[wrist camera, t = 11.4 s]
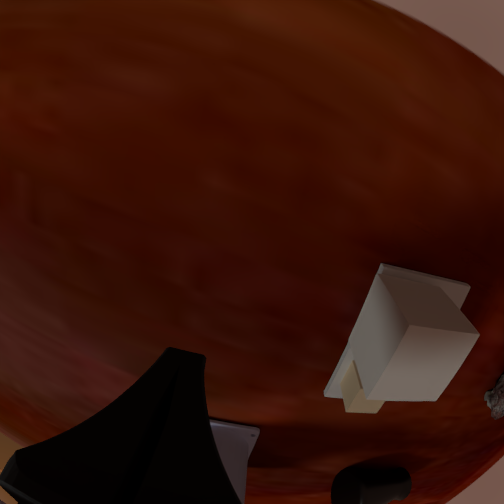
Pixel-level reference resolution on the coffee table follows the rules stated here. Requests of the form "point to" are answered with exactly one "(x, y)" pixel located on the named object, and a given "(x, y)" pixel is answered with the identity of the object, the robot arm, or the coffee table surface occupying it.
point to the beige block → (409, 340)
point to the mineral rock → (496, 399)
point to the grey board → (346, 372)
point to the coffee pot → (370, 486)
